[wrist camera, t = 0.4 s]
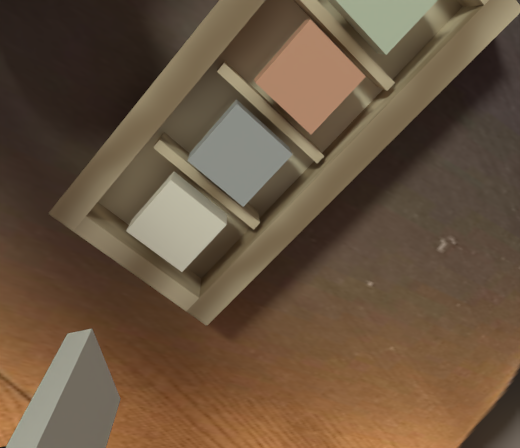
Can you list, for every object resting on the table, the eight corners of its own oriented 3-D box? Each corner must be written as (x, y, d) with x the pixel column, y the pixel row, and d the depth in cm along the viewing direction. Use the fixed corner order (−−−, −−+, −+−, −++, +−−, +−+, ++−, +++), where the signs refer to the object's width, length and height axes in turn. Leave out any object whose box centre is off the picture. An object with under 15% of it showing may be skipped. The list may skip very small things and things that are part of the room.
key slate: (189, 153, 33) (187, 160, 31) (236, 99, 32) (236, 103, 30) (242, 197, 34) (243, 206, 32) (289, 147, 33) (292, 154, 31)
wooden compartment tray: (68, 192, 37) (48, 213, 33) (350, -158, 29) (370, -188, 25) (209, 295, 41) (206, 325, 37) (486, 11, 34) (522, 9, 29)
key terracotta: (253, 79, 31) (255, 82, 29) (305, 19, 30) (310, 19, 28) (306, 128, 32) (311, 134, 31) (358, 73, 31) (365, 76, 29)
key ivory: (131, 220, 34) (125, 231, 32) (174, 171, 33) (170, 179, 31) (184, 259, 36) (181, 272, 34) (226, 213, 35) (226, 224, 33)
